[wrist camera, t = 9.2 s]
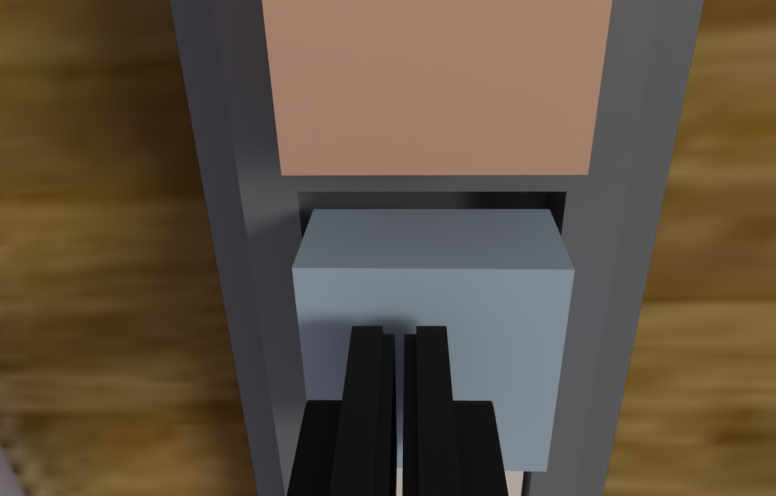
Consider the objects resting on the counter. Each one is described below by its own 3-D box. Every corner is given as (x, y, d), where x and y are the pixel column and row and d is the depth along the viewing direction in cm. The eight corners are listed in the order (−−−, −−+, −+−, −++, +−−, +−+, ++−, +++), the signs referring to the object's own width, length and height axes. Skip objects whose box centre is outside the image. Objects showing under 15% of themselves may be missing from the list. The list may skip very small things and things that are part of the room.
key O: (558, 127, 12) (588, 175, 10) (306, 128, 12) (281, 175, 10) (592, -181, 9) (640, -206, 7) (280, -170, 10) (240, -191, 8)
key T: (529, 392, 15) (546, 471, 13) (329, 388, 15) (313, 466, 13) (549, 209, 13) (574, 269, 10) (313, 209, 13) (292, 267, 11)
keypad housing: (583, 525, 22) (605, 610, 19) (272, 516, 22) (252, 597, 20) (876, -1003, 8) (1103, -1461, 5) (34, -914, 8) (-143, -1285, 6)
